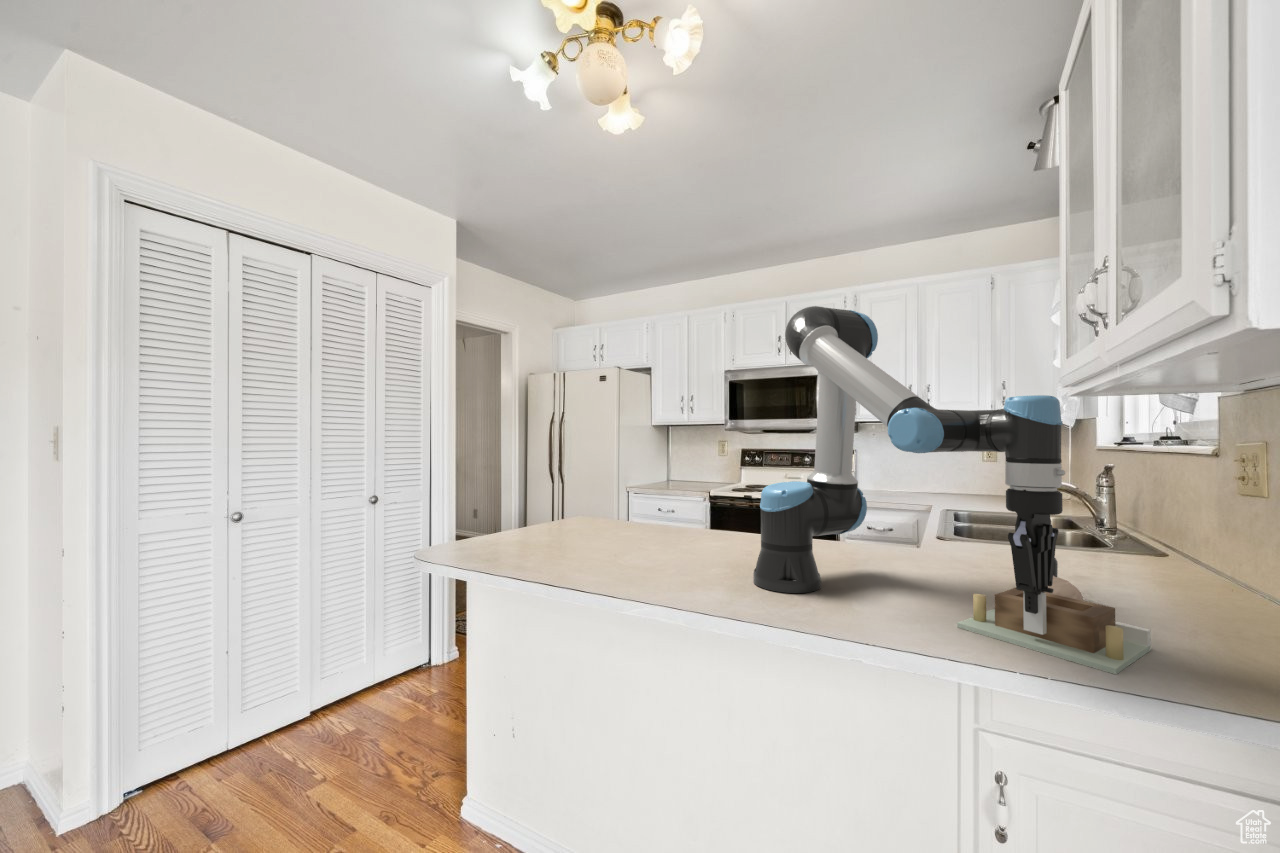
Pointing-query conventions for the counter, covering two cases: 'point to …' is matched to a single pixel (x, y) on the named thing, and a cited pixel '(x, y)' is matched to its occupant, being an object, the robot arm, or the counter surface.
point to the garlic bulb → (1065, 589)
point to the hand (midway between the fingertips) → (1035, 631)
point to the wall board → (1117, 655)
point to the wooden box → (1059, 619)
